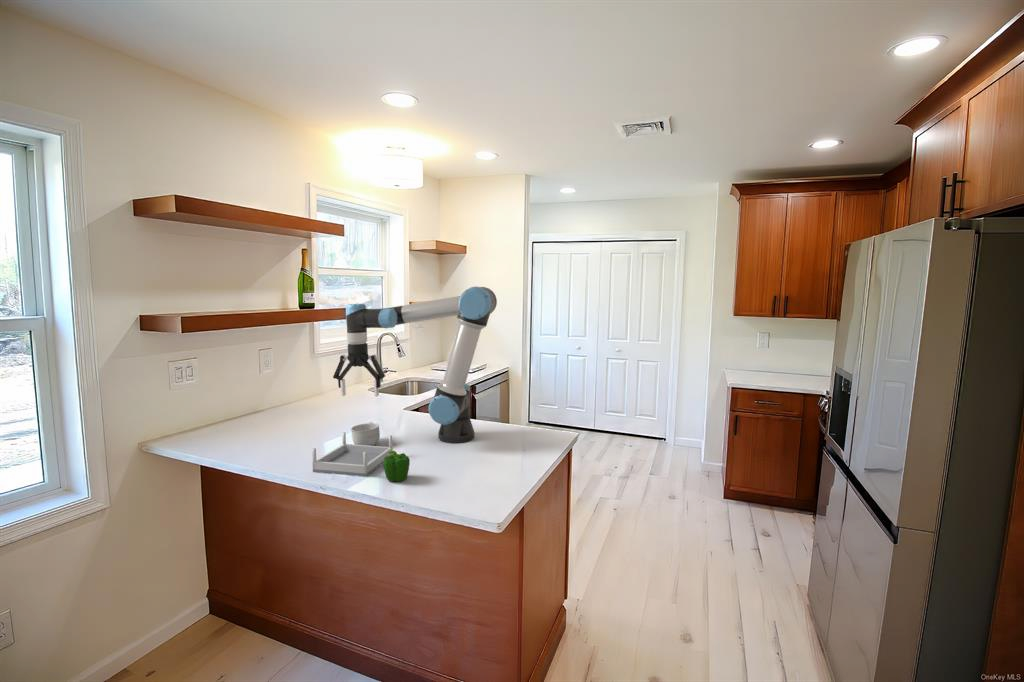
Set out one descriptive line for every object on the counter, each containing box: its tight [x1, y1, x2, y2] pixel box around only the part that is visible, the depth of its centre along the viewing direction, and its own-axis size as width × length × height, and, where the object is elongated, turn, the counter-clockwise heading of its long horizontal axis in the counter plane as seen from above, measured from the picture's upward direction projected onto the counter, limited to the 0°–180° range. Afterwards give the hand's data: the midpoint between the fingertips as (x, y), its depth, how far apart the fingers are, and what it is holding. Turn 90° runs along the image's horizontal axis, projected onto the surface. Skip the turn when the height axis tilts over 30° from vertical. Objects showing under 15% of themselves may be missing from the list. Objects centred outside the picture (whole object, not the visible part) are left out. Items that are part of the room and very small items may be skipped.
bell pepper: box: [383, 450, 411, 482], centre depth 163 cm, size 8×8×10 cm
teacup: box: [350, 421, 381, 446], centre depth 199 cm, size 14×11×8 cm
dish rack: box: [311, 431, 394, 477], centre depth 177 cm, size 20×20×8 cm
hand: (360, 395), depth 198 cm, fingers open, 13 cm apart
